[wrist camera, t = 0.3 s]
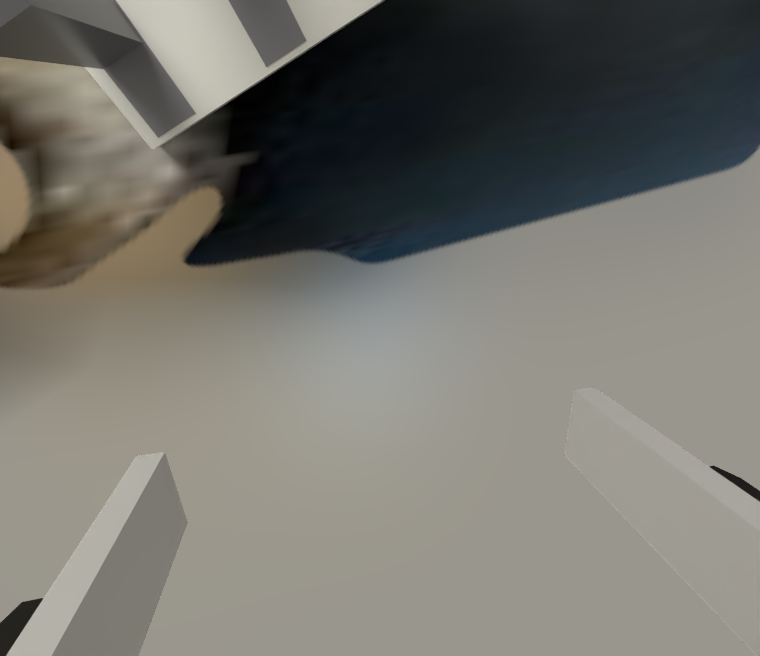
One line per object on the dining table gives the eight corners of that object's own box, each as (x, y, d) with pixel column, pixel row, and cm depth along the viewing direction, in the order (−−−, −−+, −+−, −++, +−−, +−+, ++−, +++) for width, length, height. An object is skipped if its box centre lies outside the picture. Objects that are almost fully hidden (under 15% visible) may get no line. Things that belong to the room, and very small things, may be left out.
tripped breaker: (103, 69, 23) (-35, 52, 13) (66, 23, 22) (-118, -35, 12) (142, 42, 23) (31, 5, 13) (107, -6, 22) (-47, -90, 12)
